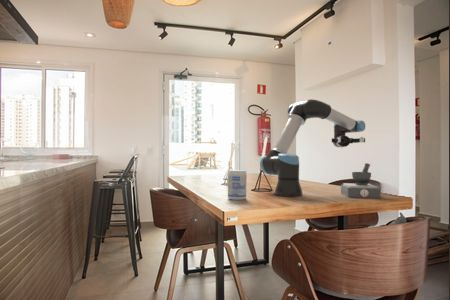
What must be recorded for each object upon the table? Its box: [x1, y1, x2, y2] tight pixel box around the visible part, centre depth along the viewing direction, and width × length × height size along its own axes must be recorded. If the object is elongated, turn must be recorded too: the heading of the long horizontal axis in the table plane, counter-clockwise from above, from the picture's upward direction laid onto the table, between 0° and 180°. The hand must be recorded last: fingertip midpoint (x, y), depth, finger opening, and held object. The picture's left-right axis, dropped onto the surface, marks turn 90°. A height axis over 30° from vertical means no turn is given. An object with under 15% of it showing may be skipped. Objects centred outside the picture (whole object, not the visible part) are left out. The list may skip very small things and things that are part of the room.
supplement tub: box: [227, 169, 247, 201], centre depth 145 cm, size 10×10×15 cm
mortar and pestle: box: [351, 163, 372, 185], centre depth 157 cm, size 11×9×12 cm
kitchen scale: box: [340, 182, 381, 199], centre depth 156 cm, size 16×17×6 cm
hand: (351, 139), depth 172 cm, fingers open, 13 cm apart
